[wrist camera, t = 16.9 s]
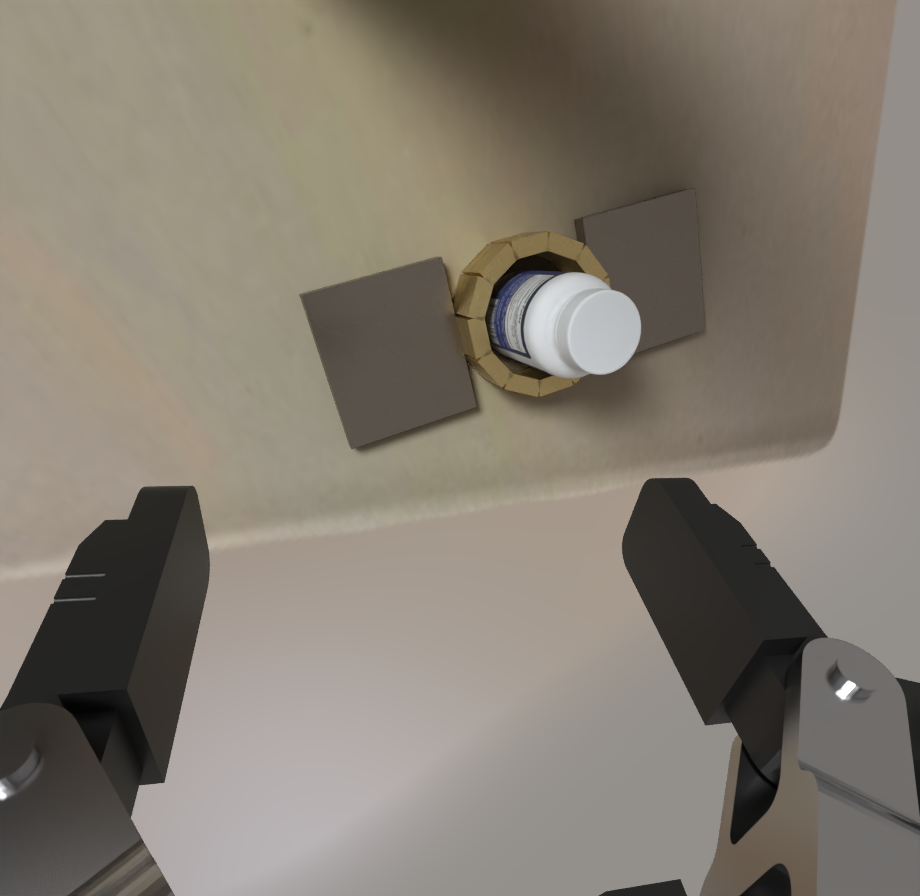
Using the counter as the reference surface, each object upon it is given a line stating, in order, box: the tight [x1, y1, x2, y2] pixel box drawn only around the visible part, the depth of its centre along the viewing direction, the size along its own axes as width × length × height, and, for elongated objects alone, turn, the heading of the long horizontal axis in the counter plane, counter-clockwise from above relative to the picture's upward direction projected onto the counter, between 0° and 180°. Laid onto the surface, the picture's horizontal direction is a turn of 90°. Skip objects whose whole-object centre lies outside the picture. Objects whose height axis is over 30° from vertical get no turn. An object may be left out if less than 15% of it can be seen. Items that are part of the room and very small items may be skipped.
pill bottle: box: [485, 270, 641, 378], centre depth 32 cm, size 5×5×10 cm
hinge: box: [299, 188, 705, 449], centre depth 35 cm, size 9×25×3 cm, turn 104°
